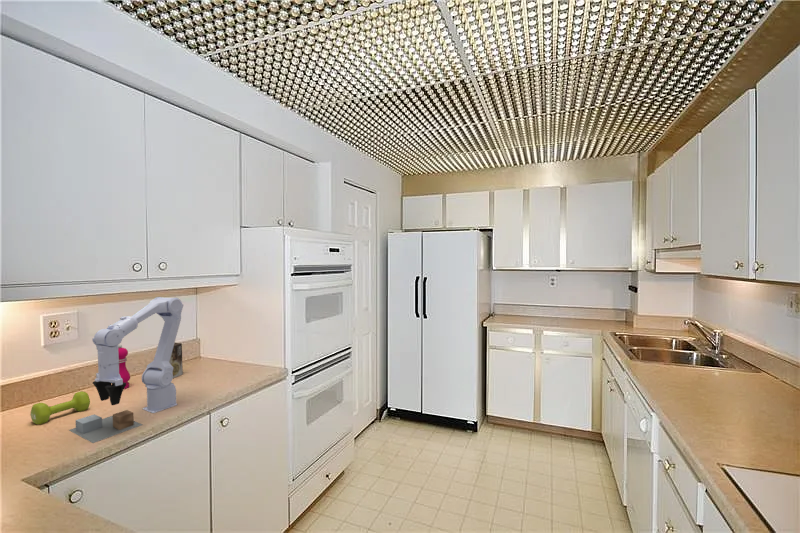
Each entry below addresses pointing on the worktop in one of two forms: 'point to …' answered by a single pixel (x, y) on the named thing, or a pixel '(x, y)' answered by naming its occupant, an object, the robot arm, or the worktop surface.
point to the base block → (88, 423)
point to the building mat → (104, 430)
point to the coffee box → (176, 360)
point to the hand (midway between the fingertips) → (110, 402)
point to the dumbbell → (59, 407)
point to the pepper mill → (123, 365)
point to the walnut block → (123, 419)
